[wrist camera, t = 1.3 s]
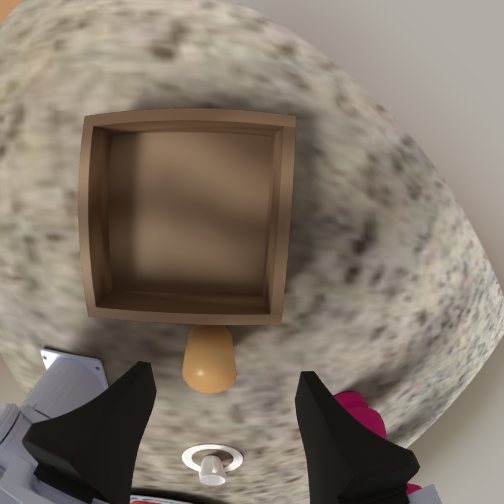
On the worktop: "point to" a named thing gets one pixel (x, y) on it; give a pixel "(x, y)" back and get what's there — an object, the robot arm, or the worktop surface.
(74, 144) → the worktop surface
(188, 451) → the teacup and saucer
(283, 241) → the box
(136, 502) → the ceramic plate
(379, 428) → the pepper mill
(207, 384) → the tan rounded piece
